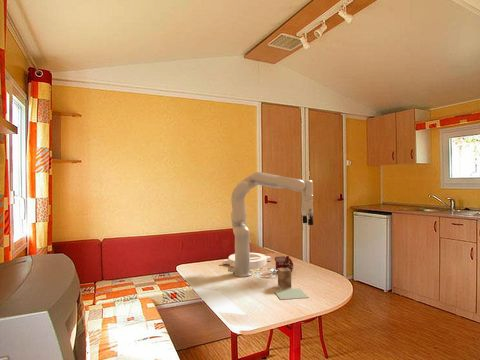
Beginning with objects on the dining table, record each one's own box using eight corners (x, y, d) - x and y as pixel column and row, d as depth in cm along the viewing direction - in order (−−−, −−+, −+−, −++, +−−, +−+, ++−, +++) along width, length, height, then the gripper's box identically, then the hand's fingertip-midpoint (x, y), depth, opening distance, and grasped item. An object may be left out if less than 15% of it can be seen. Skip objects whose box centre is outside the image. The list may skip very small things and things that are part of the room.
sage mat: (280, 299, 148) (280, 299, 148) (273, 290, 161) (273, 290, 161) (308, 297, 150) (308, 297, 150) (299, 288, 163) (299, 288, 163)
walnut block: (280, 289, 163) (280, 271, 163) (277, 285, 169) (277, 268, 169) (291, 288, 163) (291, 270, 164) (288, 285, 169) (287, 267, 170)
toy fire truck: (295, 272, 193) (295, 256, 193) (277, 274, 190) (276, 257, 191) (291, 269, 200) (291, 254, 200) (273, 271, 197) (273, 255, 197)
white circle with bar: (272, 261, 223) (272, 255, 223) (255, 271, 198) (255, 263, 199) (240, 257, 237) (240, 251, 237) (221, 265, 213) (221, 259, 213)
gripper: (297, 197, 206) (297, 222, 205) (306, 199, 188) (307, 226, 188) (307, 197, 207) (308, 222, 207) (318, 199, 190) (318, 225, 189)
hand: (307, 224), depth 197 cm, fingers open, 9 cm apart
